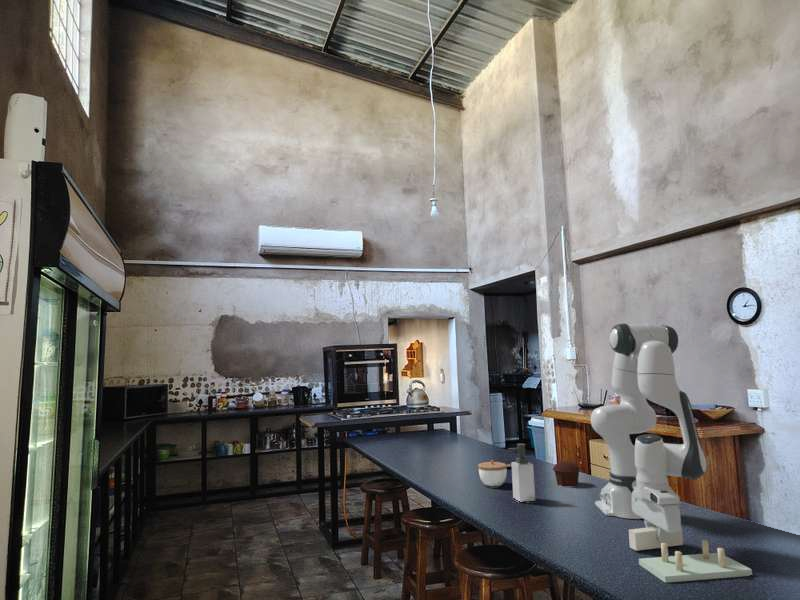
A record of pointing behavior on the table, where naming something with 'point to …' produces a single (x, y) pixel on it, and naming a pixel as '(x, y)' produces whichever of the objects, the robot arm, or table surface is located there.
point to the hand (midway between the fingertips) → (656, 538)
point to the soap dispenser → (522, 476)
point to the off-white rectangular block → (652, 538)
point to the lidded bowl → (492, 473)
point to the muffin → (566, 473)
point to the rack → (694, 565)
